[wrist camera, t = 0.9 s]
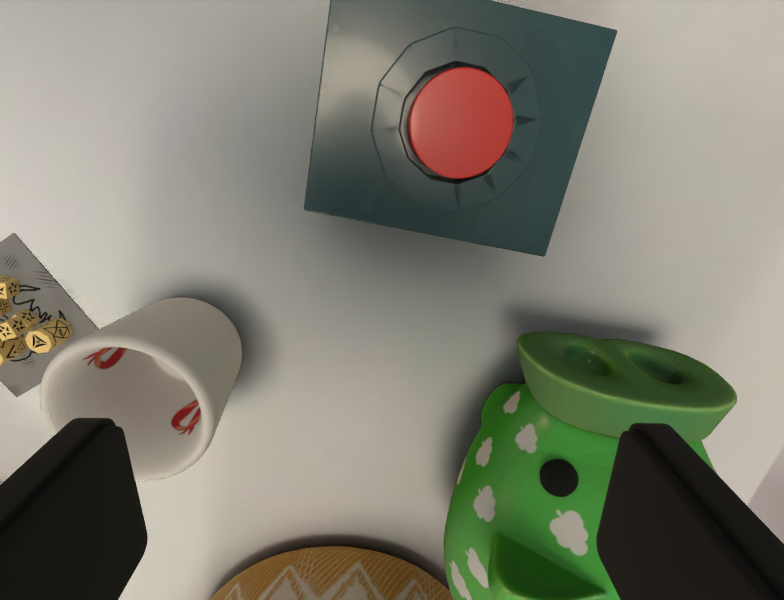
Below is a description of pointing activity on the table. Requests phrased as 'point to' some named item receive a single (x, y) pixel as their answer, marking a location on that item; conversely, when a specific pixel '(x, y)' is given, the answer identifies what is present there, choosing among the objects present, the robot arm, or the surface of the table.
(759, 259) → the table surface
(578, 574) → the piggy bank
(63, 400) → the cup
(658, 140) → the table surface
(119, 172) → the table surface
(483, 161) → the red push button
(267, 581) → the planter
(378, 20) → the button base
